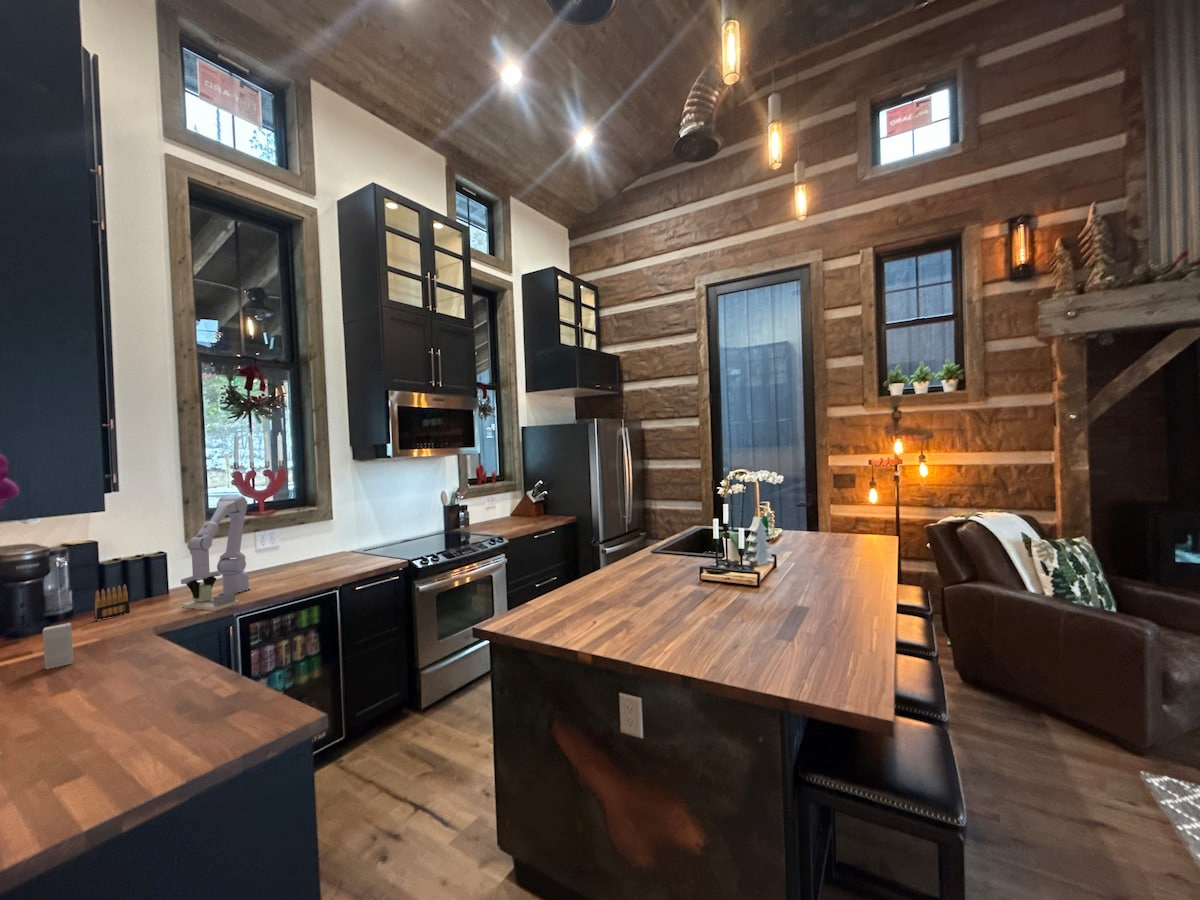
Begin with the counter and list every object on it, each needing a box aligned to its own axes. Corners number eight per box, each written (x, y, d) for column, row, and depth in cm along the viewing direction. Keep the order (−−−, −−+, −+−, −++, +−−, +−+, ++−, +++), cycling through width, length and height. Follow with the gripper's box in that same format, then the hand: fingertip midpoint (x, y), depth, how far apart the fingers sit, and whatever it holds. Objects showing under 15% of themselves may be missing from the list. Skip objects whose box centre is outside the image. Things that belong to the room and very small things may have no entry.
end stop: (231, 600, 218) (230, 592, 218) (235, 601, 217) (234, 593, 217) (213, 605, 212) (213, 597, 212) (217, 606, 211) (217, 597, 211)
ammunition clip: (96, 621, 202) (95, 590, 202) (94, 621, 203) (92, 590, 203) (130, 612, 212) (128, 583, 212) (127, 612, 213) (126, 583, 213)
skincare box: (73, 660, 162) (71, 622, 162) (73, 663, 159) (71, 625, 159) (45, 666, 158) (43, 627, 158) (44, 670, 155) (42, 630, 155)
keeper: (202, 598, 223) (202, 584, 223) (212, 599, 220) (211, 585, 220) (192, 600, 219) (191, 586, 219) (201, 601, 217) (201, 587, 217)
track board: (207, 600, 226) (207, 596, 226) (239, 603, 219) (239, 599, 219) (182, 607, 217) (182, 603, 217) (214, 611, 209) (214, 606, 209)
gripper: (212, 560, 228) (213, 591, 228) (175, 568, 214) (177, 601, 214) (223, 561, 225) (224, 592, 225) (186, 569, 212) (188, 602, 212)
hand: (202, 596), depth 220 cm, fingers closed on keeper, 4 cm apart
